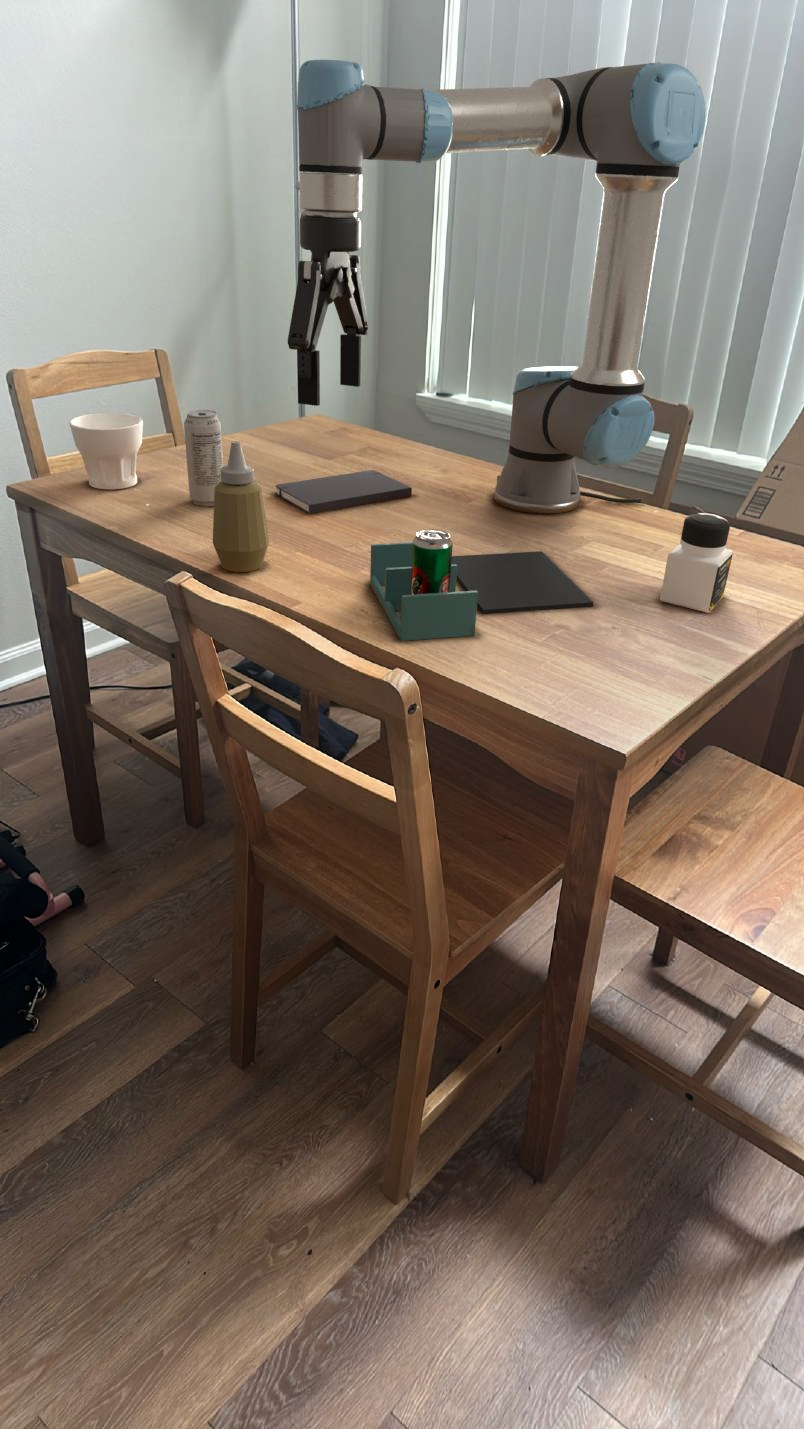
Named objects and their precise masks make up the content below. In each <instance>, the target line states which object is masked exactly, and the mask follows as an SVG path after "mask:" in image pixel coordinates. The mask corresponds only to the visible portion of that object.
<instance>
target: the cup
mask: <svg viewBox="0 0 804 1429" xmlns="http://www.w3.org/2000/svg"><path fill="white" fill-rule="evenodd" d="M68 423H69V428H70V431H71V435H72V438H73V441H74V446H75V447H76V449H77V451H78V452H79V453H80V455H81V458H82V460H83V464H84V467H85V468H84V469H85V471H86V474H87V476H88V484H89V486H90V487H92V488H94V489H97V490H102V491H103V490H105V491H107V490H108V491H112V490H113V491H116V490H124V489H128V488H131V487H133V486H135V485H137V483H138V476H137V472H136V470H137V456H138V452H139V450H140V448H141V446H142V444H143V430H144V428H143V427H144V421H143V419H142V418H141V417H140V416H137V415H134V414H129V413H122V412H97V413H88V414H82V415H79V416H75V417H73V418H72V419H70V420H69V421H68Z"/></svg>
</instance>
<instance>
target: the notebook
mask: <svg viewBox="0 0 804 1429" xmlns="http://www.w3.org/2000/svg"><path fill="white" fill-rule="evenodd" d="M274 486H275V488H276V492H275V495H276V496H277V497H280V498H282V499H283V500H285V501H287V502H288V503H290V504H292V505H293V506H294V507H297V508H299V509H300V510H302V511H304V512H306V513H308V514H315V513H320V512H321V513H322V512H326V511H331V510H337V509H343V508H349V507H354V506H361V505H366V504H367V505H368V504H372V503H377V502H384V501H389V500H394V499H395V500H396V499H401V498H406V497H412V496H413V495H412V493H413V487H412V486H410V485H407V484H405V483H403V482H401V481H399V480H398V479H397V480H396V479H394V478H393V477H390V476H388V475H386V474H383V473H382V472H379V471H377V470H373V469H371V470H363V471H357V472H349V473H343V474H337V475H331V476H325V477H317V478H311V479H304V480H298V481H291V482H285V483H278V484H275V485H274Z"/></svg>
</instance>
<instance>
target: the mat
mask: <svg viewBox="0 0 804 1429" xmlns="http://www.w3.org/2000/svg"><path fill="white" fill-rule="evenodd" d="M452 564H456V565H457V578H456V581H458V583H459V584H460V585H461V587H462V588H463V589H464V591H477V592H478V599H477V609H478V610H479V611H480V612H481V614H498V613H511V612H525V611H541V610H556V609H558V610H559V609H569V608H572V609H573V608H585V607H594V601H593V600H592V599H591V598H590V597H589V596H588V595H587V594H586V593H585V592H584V591H583V590H582V589H580V587H579V586H577V585H576V583H575V582H574V581H573V580H571V579H570V578H569V576H567V575H566V574H565V572H564V571H562V570H561V568H560V567H558V566H557V565H556V564H555V563H554V561H552V560H551V558H549V556H547V555H546V553H544V552H543V551H540V550H539V551H524V552H522V551H521V552H505V553H504V552H503V553H486V554H484V553H483V554H468V555H467V554H465V555H452V563H451V565H452Z"/></svg>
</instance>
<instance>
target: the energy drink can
mask: <svg viewBox="0 0 804 1429" xmlns="http://www.w3.org/2000/svg"><path fill="white" fill-rule="evenodd" d="M183 429H184V430H183V431H184V442H185V453H186V454H185V455H186V456H185V457H186V468H187V481H188V493H189V499H191V500H192V501H193V504H194V505H197V506H200V507H214V492H215V486H216V485H217V484H218V483H220V482H221V474H220V469H221V468H222V467H224V454H223V438H222V423H221V421H220V419H219V418H218V416H217V412H216V411H215V410H210V409H193V410H189V411H187V412H186V418H185V420H184V422H183Z"/></svg>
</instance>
